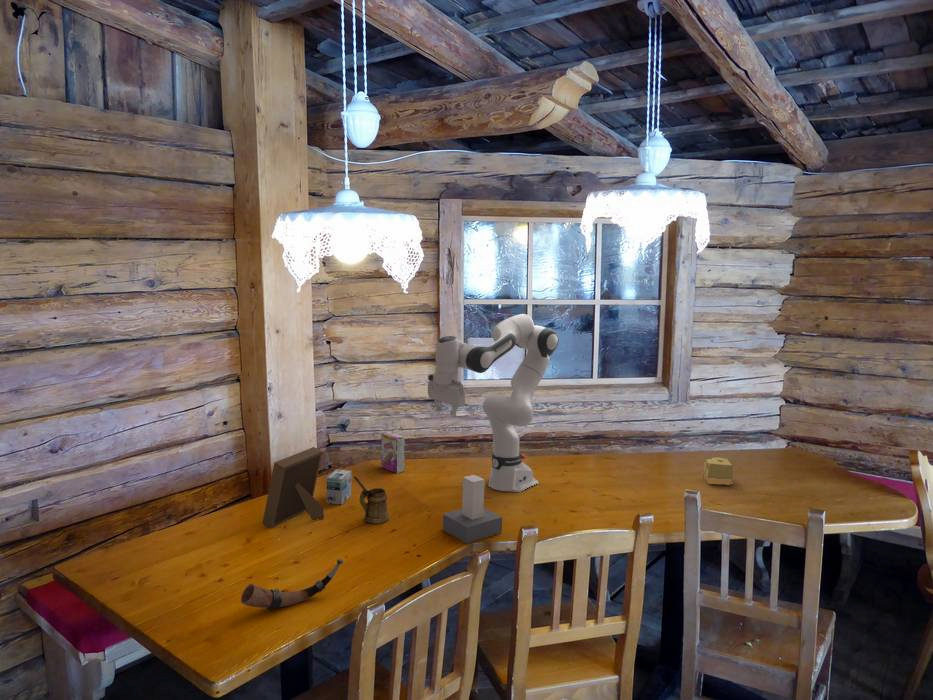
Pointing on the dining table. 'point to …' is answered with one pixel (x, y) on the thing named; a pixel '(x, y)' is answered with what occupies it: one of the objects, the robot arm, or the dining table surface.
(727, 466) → the cheese
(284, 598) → the drinking horn
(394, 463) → the candy bar box
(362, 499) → the wooden mug
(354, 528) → the dining table surface
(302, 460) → the photo frame
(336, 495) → the light bulb box
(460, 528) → the podium
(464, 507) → the carton
